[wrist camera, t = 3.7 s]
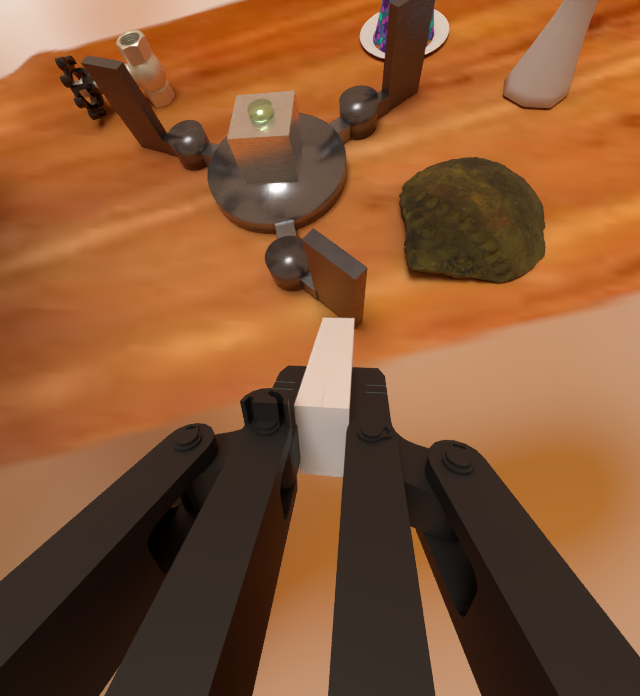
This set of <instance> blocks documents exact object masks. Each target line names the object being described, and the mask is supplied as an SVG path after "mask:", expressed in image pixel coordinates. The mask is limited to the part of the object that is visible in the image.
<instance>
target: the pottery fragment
mask: <svg viewBox="0 0 640 696" xmlns="http://www.w3.org/2000/svg"><path fill="white" fill-rule="evenodd" d="M402 191H403V192H402V193H401V194H400V195H399V197H400V207H401V213H402V217H403V218H404V220H405V224H406V232H407V235H406V240H405V244H404V245H405V246H406V247H405V249H404V250H405V253H406V254H407V265H408V268H409V270H413V271H417V272H425V273H428V274H437V273H442V274H444V275H448V276H451V277H453V278H455V279H457V278H476V279H481V280H487V281H491V282H495V283H503V282H507V281H511V280H513V279H515V278H517V277H520V276H523V275H524V274H525V273H527V272H528V271H529V270H530V269H533V268H534V266H535V265H536V263H537V262H538V261H539V260H541V259H542V258H543V257H544V255H545V241H544V234H543V230H544V229H545V222H544V211H543V205H542V203H541V201H540V200H539V198H538V196H537V195H536V193H535V191H534V190H533V189H532V188H531V186H530V185H529V184H528V183H527V182H526V181H525V179H524V178H522V177H521V176H519V175H517V174H516V173H514V172H513V171H511V170H510V169H508V168H507V167H506V166H505V165H502V164H499V163H497V162H493V161H490V160H487V159H482V158H477V157H473V158H470V157H469V158H460V159H452V160H449V161H445V162H441V163H438V164H435V165H432V166H430V167H428V168H426V169H424V170H423V171H420V172H418V173H417V174H416V175H415V176H413V177H412V178H411V179H410V180H408V181H407V182H406V183H405V184H404V185H403V187H402Z"/></svg>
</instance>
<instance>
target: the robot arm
mask: <svg viewBox="0 0 640 696" xmlns="http://www.w3.org/2000/svg"><path fill="white" fill-rule="evenodd" d="M353 353H354V318H323V319H322V322H321V325H320V328H319V331H318V334H317V338H316V341H315V344H314V347H313V350H312V353H311V356H310V359H309V362H308V365H307V366H287V367H286V368H285V369H283V370H282V371H281V372H280V373H279V375H278V377H277V379H276V382H275V384H274V386H273V388H264V389H259V390H256V391H252V392H251V393H249V394H247V395H246V396H244V398H243V399H242V400H241V401H240V403H241V408H242V413H243V417H244V423H245V425H244V427H243V429H241V430H237V431H233V432H228V433H222V434H217V435H215V434H214V432H213V430H212V428H211V427H210V426H208V425H206V424H200V423H196V424H190V425H186V426H184V427H181V428H179V429H177V430H176V431H174V432H173V433H171V434H170V435H169V436H167V437H166V438H165V439H164V440H163V441H162V442H160V443H159V444H158V445H157V446H156V447H155V448H153V449H152V450H151V451H150V452H149V453H148V454H147V455H145V456H144V457H143V458H142V459H141V460H140V461H139V462H138V463H136V464H135V465H134V466H133V467H132V468H130V469H129V470H128V471H127V472H126V473H125V474H123V475H122V476H121V477H120V478H119V479H118V480H117V481H115V482H114V483H113V484H112V485H111V486H110V487H108V488H107V489H106V490H105V491H104V492H103V493H102V494H101V495H99V496H98V497H97V498H96V499H95V500H94V501H92V502H91V503H90V504H89V505H88V506H87V507H85V508H84V509H83V510H82V511H81V512H80V513H79V514H77V515H76V516H75V517H74V518H73V519H72V520H70V521H69V522H68V523H67V524H66V525H65V526H64V527H62V528H61V529H60V530H59V531H58V532H57V533H56V534H54V535H53V536H52V537H51V538H50V539H49V540H47V541H46V542H45V543H44V544H43V545H42V546H41V547H39V548H38V549H37V550H36V551H35V552H34V553H32V554H31V555H30V556H29V557H28V558H27V559H25V560H24V561H23V562H22V563H21V564H20V565H19V566H17V567H16V568H15V569H14V570H13V571H12V572H10V573H9V574H8V575H7V576H6V577H5V578H4V579H2V580H1V581H0V696H99V695H100V694H101V692H102V691H103V689H104V688H105V686H106V685H107V684H108V682H109V681H110V679H111V678H112V676H113V675H114V673H115V672H116V670H117V669H118V668H119V669H118V670H117V672H116V674H115V676H114V678H113V680H112V682H111V684H110V686H109V688H108V690H107V692H106V694H105V696H252V694H253V690H254V685H255V680H256V676H257V671H258V667H259V662H260V658H261V653H262V649H263V644H264V639H265V635H266V630H267V626H268V621H269V617H270V612H271V607H272V603H273V598H274V594H275V589H276V585H277V580H278V576H279V571H280V566H281V562H282V557H283V553H284V548H285V543H286V539H287V534H288V530H289V525H290V521H291V516H292V511H293V507H294V502H295V498H296V493H297V473H298V468H299V464H300V473H304V474H313V475H325V476H336V477H343V487H342V502H341V516H340V531H339V545H338V546H339V547H338V561H337V574H336V589H335V603H334V618H333V632H332V647H331V662H330V676H329V691H328V696H435V690H434V683H433V676H432V669H431V663H430V657H429V649H428V643H427V636H426V629H425V623H424V616H423V609H422V602H421V596H420V589H419V583H418V575H417V569H416V562H415V555H414V548H413V542H412V535H411V528H410V526H411V527H414V528H416V532H417V534H418V537H419V539H420V542H421V544H422V547H423V549H424V552H425V554H426V557H427V559H428V562H429V564H430V567H431V569H432V572H433V575H434V577H435V579H436V582H437V584H438V587H439V590H440V592H441V595H442V597H443V600H444V602H445V605H446V607H447V610H448V612H449V615H450V617H451V620H452V622H453V625H454V627H455V630H456V632H457V635H458V638H459V640H460V642H461V645H462V648H463V650H464V653H465V655H466V658H467V660H468V663H469V665H470V668H471V670H472V673H473V675H474V678H475V680H476V683H477V685H478V688H479V690H480V693H481V695H482V696H640V657H639V655H638V654H637V653H636V652H635V650H634V649H633V648H632V646H631V645H630V644H629V643H628V641H627V640H626V639H625V638H624V636H623V635H622V634H621V633H620V631H619V630H618V628H617V627H616V626H615V625H614V623H613V622H612V621H611V620H610V618H609V617H608V616H607V614H606V613H605V612H604V611H603V609H602V608H601V607H600V605H599V604H598V603H597V602H596V600H595V599H594V598H593V596H592V595H591V594H590V593H589V591H588V590H587V589H586V588H585V586H584V585H583V584H582V583H581V581H580V580H579V579H578V577H577V576H576V575H575V573H574V572H573V571H572V570H571V568H570V567H569V566H568V564H567V563H566V562H565V561H564V559H563V558H562V557H561V555H560V554H559V553H558V552H557V550H556V549H555V548H554V547H553V545H552V544H551V543H550V541H549V540H548V539H547V538H546V536H545V535H544V534H543V532H542V531H541V530H540V529H539V528H538V526H537V525H536V523H535V522H534V521H533V520H532V518H531V517H530V516H529V515H528V513H527V512H526V511H525V509H524V508H523V507H522V506H521V504H520V503H519V502H518V500H517V499H516V498H515V497H514V495H513V494H512V493H511V492H510V490H509V489H508V488H507V486H506V485H505V484H504V482H503V481H502V480H501V479H500V477H499V476H498V475H497V474H496V472H495V471H494V470H493V468H492V467H491V466H490V465H489V463H488V462H487V461H486V459H485V458H484V457H483V456H482V455H481V454H480V453H478V451H477V450H475V449H473V448H472V447H470V446H468V445H467V444H464V443H461V442H457V441H454V440H442V441H438V442H435V443H434V444H433V445H432V446H431V447H430V448H426V447H422V446H420V445H416V444H414V443H411V442H409V441H407V440H405V439H404V438H402V437H401V436H400V435H399V434H398V433H397V432H396V431H395V430H394V428H393V427H392V423H391V418H390V411H389V403H388V396H387V388H386V381H385V376H384V375H383V374H382V372H381V371H380V370H379V369H378V368H358V367H353ZM119 666H120V667H119Z"/></svg>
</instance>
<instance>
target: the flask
mask: <svg viewBox="0 0 640 696" xmlns="http://www.w3.org/2000/svg"><path fill="white" fill-rule="evenodd" d="M598 1H599V0H563V2H562V4H561V5H560V7H559V8H558V10H557V12H556V13H555V15H554V16H553V17H552V19H551V20H550V21H549V23H548V24H547V25H546V27H545V28H544V29H543V31H542V32H541V33H540V35H539V36H538V37H537V39H536V40H535V41H534V43H533V44H532V45H531V47H530V48H529V49H528V50H527V52H526V53H525V54H524V55H523V57H522V58H521V59H520V61H519V62H518V63H517V64H516V66H515V67H514V68H513V69H512V71H511V72H510V73H509V75H508V76H507V77H506V79H505V85H504V92H503V96H505V97H507V98H509V99H510V100H512V101H514V102H516V103H517V104H519V105H521V106H523V107H537V108H551V107H553V106H554V105H555V104H556V103H558V102H559V101H560V100H562V99H563V98H564V97H566V96H567V95H568V92H569V89H570V86H571V82H572V79H573V75H574V72H575V68H576V65H577V61H578V57H579V54H580V51H581V48H582V45H583V42H584V38H585V35H586V32H587V29H588V26H589V23H590V20H591V17H592V15H593V13H594V10H595V8H596V6H597V3H598Z"/></svg>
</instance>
